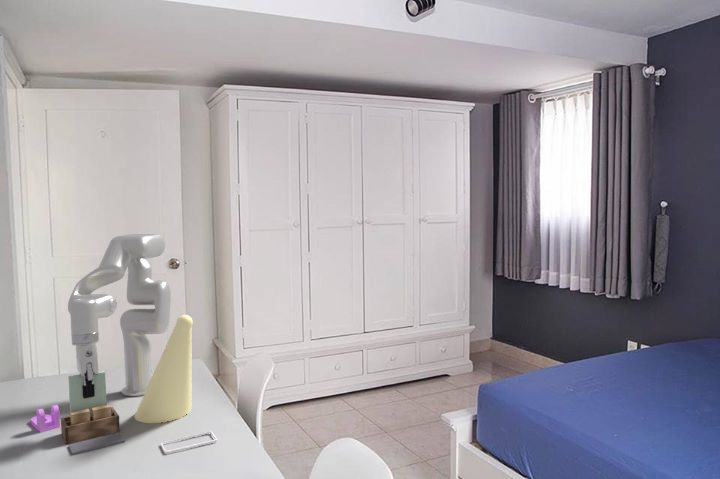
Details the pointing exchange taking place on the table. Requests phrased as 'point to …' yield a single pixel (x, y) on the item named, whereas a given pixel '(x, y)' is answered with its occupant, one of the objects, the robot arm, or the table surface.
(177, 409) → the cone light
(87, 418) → the oak offcut
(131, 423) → the table surface
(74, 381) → the green board
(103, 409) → the oak offcut
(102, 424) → the walnut rack
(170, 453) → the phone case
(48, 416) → the bracket
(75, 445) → the charcoal mat
